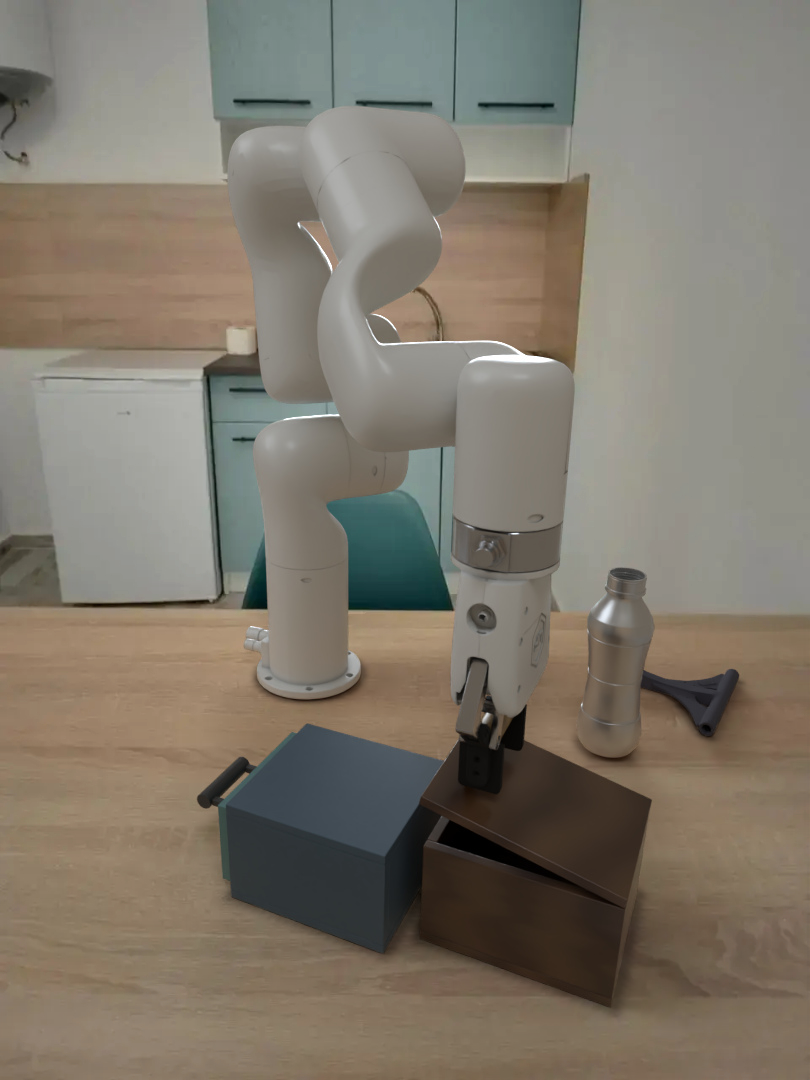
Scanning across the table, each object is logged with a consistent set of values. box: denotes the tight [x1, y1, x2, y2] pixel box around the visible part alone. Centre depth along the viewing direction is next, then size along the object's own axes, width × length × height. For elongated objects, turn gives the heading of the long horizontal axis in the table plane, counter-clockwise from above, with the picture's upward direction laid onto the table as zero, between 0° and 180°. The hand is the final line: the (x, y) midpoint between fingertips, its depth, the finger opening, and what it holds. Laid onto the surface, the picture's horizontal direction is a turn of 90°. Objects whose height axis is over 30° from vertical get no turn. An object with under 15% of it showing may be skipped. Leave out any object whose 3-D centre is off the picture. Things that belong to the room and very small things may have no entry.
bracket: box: [641, 668, 740, 737], centre depth 99 cm, size 14×15×3 cm
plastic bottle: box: [575, 566, 655, 758], centre depth 85 cm, size 6×7×20 cm
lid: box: [419, 701, 653, 908], centre depth 61 cm, size 15×12×6 cm
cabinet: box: [226, 723, 444, 954], centre depth 69 cm, size 14×13×9 cm
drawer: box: [196, 731, 298, 882], centre depth 70 cm, size 17×11×7 cm
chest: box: [419, 814, 650, 1008], centre depth 64 cm, size 15×12×9 cm
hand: (491, 763), depth 63 cm, fingers closed on lid, 5 cm apart
